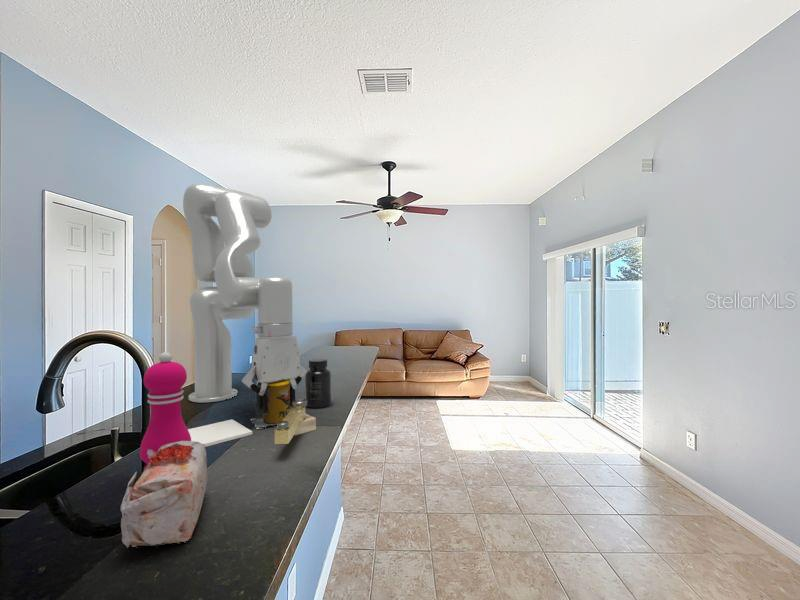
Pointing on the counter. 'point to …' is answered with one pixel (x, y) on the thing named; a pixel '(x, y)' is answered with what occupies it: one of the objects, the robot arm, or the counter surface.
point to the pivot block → (306, 425)
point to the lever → (290, 422)
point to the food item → (165, 496)
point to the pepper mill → (164, 405)
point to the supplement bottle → (318, 384)
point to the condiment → (276, 402)
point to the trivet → (218, 432)
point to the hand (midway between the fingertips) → (276, 407)
